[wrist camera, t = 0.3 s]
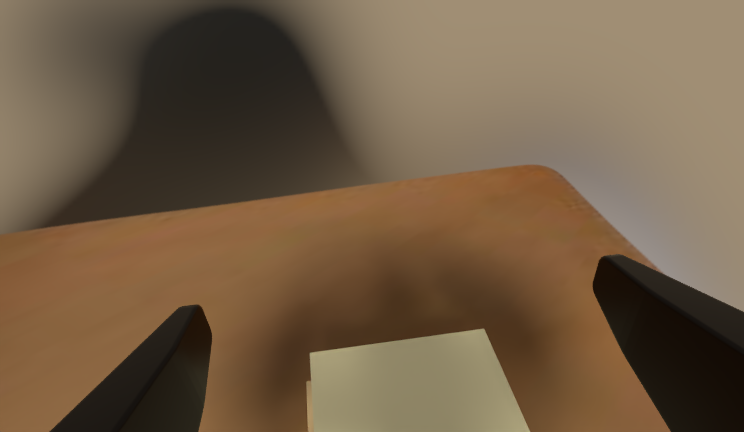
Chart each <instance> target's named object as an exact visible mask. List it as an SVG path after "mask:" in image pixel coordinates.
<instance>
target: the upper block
mask: <svg viewBox="0 0 744 432" xmlns="http://www.w3.org/2000/svg"><path fill="white" fill-rule="evenodd" d="M310 367H311V386H312V405H313V425H314V432H530V430H529V428H528V426H527V424H526V421H525V419H524V417H523V415H522V413H521V410H520V408H519V406H518V404H517V401H516V399H515V397H514V395H513V392H512V390H511V388H510V386H509V383H508V381H507V379H506V377H505V374H504V372H503V370H502V368H501V365H500V363H499V361H498V359H497V357H496V354H495V352H494V350H493V348H492V345H491V343H490V341H489V339H488V336H487V334H486V332H485V330H484V329H478V330H470V331H463V332H456V333H449V334H442V335H434V336H427V337H420V338H413V339H405V340H398V341H391V342H384V343H377V344H369V345H362V346H355V347H348V348H340V349H333V350H326V351H319V352H312V353H310Z"/></svg>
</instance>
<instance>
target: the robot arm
mask: <svg viewBox="0 0 744 432" xmlns="http://www.w3.org/2000/svg"><path fill="white" fill-rule="evenodd" d="M593 291H594V294H595V296H596V298H597V301H598V303H599V305H600V307H601V309H602V311H603V313H604V315H605V317H606V319H607V322H608V324H609V326H610V328H611V330H612V332H613V334H614V336H615V338H616V340H617V342H618V344H619V346H620V348H621V350H622V352H623V354H624V356H625V357H626V359H627V361H628V362H629V364H630V366H631V367H632V369H633V371H634V372H635V374H636V375H637V377H638V379H639V380H640V382H641V384H642V385H643V387H644V389H645V390H646V392H647V393H648V395H649V397H650V398H651V400H652V402H653V403H654V405H655V406H656V408H657V410H658V411H659V413H660V415H661V416H662V418H663V419H664V421H665V423H666V424H667V426H668V428H669V429H670V431H671V432H744V312H743V311H741V310H739V309H736V308H734V307H732V306H730V305H728V304H726V303H724V302H721V301H719V300H717V299H715V298H713V297H711V296H709V295H707V294H705V293H702V292H700V291H698V290H696V289H694V288H692V287H690V286H688V285H685V284H683V283H681V282H679V281H677V280H675V279H673V278H670V277H668V276H666V275H664V274H662V273H660V272H658V271H656V270H653V269H651V268H649V267H647V266H645V265H643V264H641V263H639V262H636V261H634V260H632V259H630V258H628V257H626V256H624V255H620V254H616V255H607V256H603V257H601V259H600V260H599V263H598V266H597V270H596V273H595V277H594V280H593ZM211 344H212V333H211V329H210V326H209V324H208V321H207V319H206V316H205V314H204V311H203V309H202V307H201V306H200V305H188V306H182V307H179V308H178V309H177V310H176V311H175V312H174V313H173V314H172V315H170V316H169V317H168V318H167V319H166V320H165V321H164V322H163V323H162V324H161V325H160V326H159V327H158V328H157V329H156V330H155V331H154V332H153V333H152V334H151V335H150V336H149V337H148V338H147V339H146V340H144V341H143V342H142V343H141V344H140V345H139V346H138V347H137V348H136V349H135V350H134V351H133V352H132V353H131V354H130V355H129V356H128V357H127V358H126V359H125V360H124V361H123V362H122V363H121V364H120V365H118V366H117V367H116V368H115V369H114V370H113V371H112V372H111V373H110V374H109V375H108V376H107V377H106V378H105V379H104V380H103V381H102V382H101V383H100V384H99V385H98V386H97V387H96V388H95V389H94V390H92V391H91V392H90V393H89V394H88V395H87V396H86V397H85V398H84V399H83V400H82V401H81V402H80V403H79V404H78V405H77V406H76V407H75V408H74V409H73V410H72V411H71V412H70V413H69V414H68V415H66V416H65V417H64V418H63V419H62V420H61V421H60V422H59V423H58V424H57V425H56V426H55V427H54V428H53V429H52V430H51V431H50V432H198V430H199V426H200V422H201V418H202V413H203V408H204V402H205V395H206V386H207V378H208V369H209V361H210V353H211Z"/></svg>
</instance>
